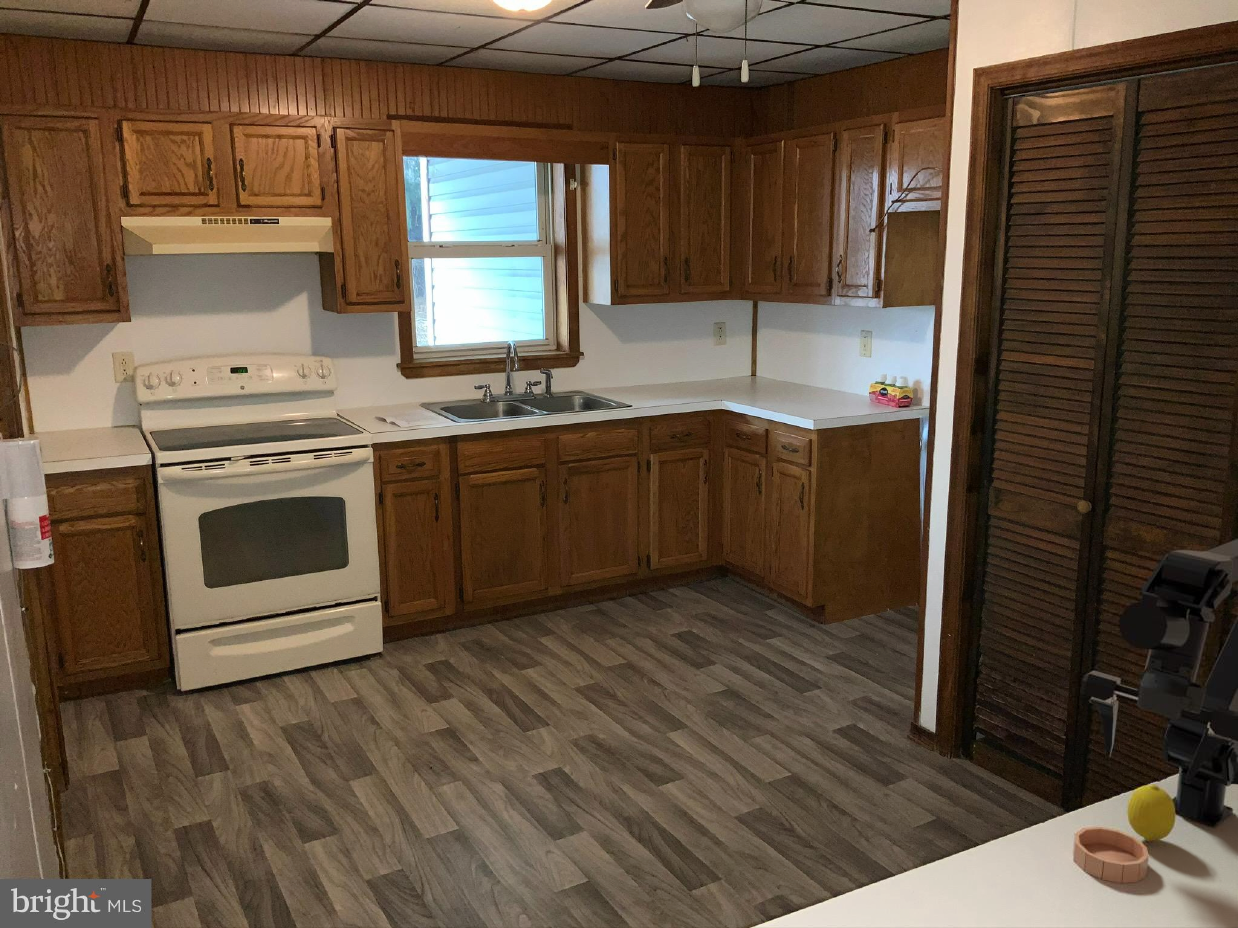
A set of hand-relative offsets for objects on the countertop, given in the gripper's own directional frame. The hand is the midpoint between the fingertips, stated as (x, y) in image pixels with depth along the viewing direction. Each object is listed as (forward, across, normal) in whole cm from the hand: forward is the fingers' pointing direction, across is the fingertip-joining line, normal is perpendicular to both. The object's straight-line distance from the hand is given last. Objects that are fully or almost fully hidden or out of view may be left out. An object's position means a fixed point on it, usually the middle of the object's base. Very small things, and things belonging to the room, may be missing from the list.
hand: (1146, 769), depth 128 cm
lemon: (+10, +2, +5) cm, 12 cm away
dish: (+12, -2, -3) cm, 13 cm away
